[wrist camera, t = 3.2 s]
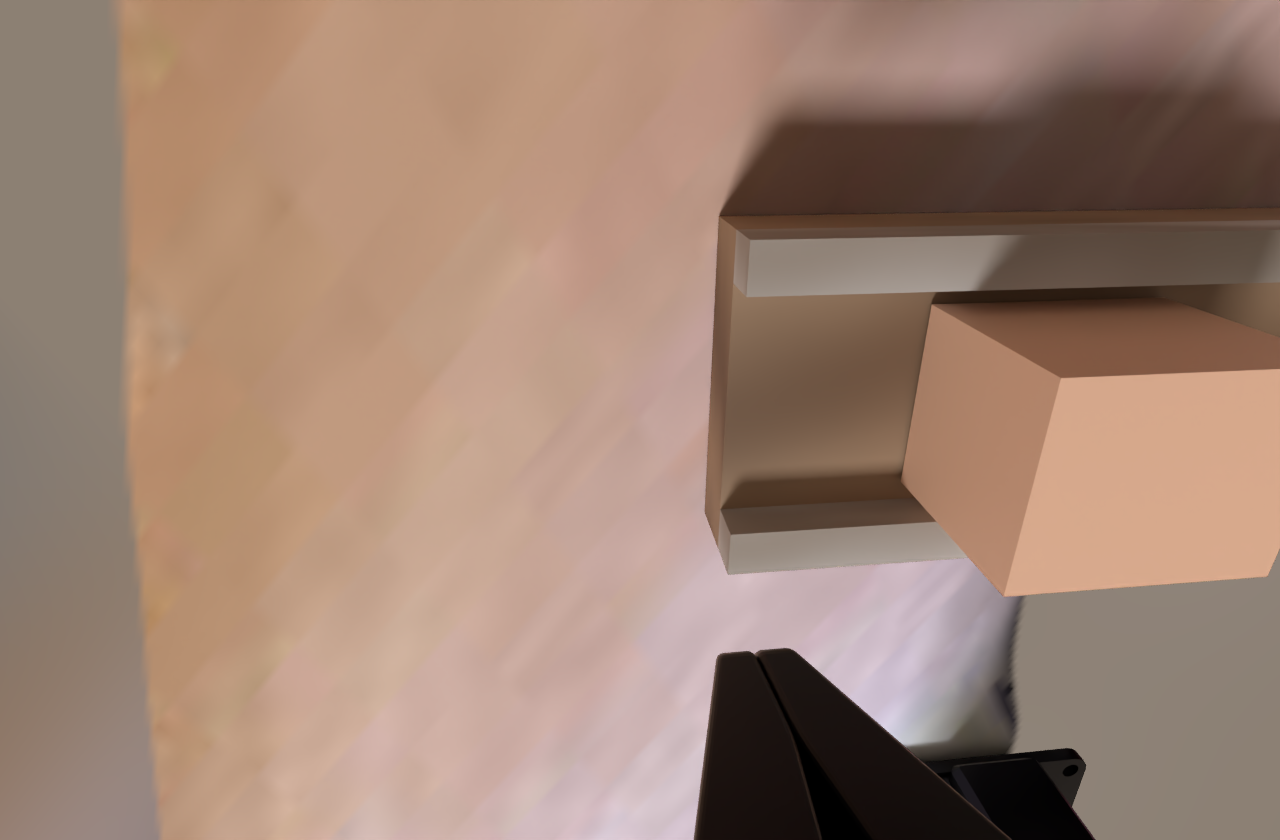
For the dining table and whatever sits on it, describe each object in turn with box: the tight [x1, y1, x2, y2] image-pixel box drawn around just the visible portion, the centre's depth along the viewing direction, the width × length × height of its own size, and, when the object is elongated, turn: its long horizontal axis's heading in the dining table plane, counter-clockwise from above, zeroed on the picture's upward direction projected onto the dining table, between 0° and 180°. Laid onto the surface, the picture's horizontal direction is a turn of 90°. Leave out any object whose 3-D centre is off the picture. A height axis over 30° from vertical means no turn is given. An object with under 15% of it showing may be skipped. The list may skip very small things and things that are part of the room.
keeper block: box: [901, 298, 1280, 597], centre depth 14 cm, size 4×5×4 cm
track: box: [705, 208, 1280, 575], centre depth 15 cm, size 7×17×4 cm, turn 90°
